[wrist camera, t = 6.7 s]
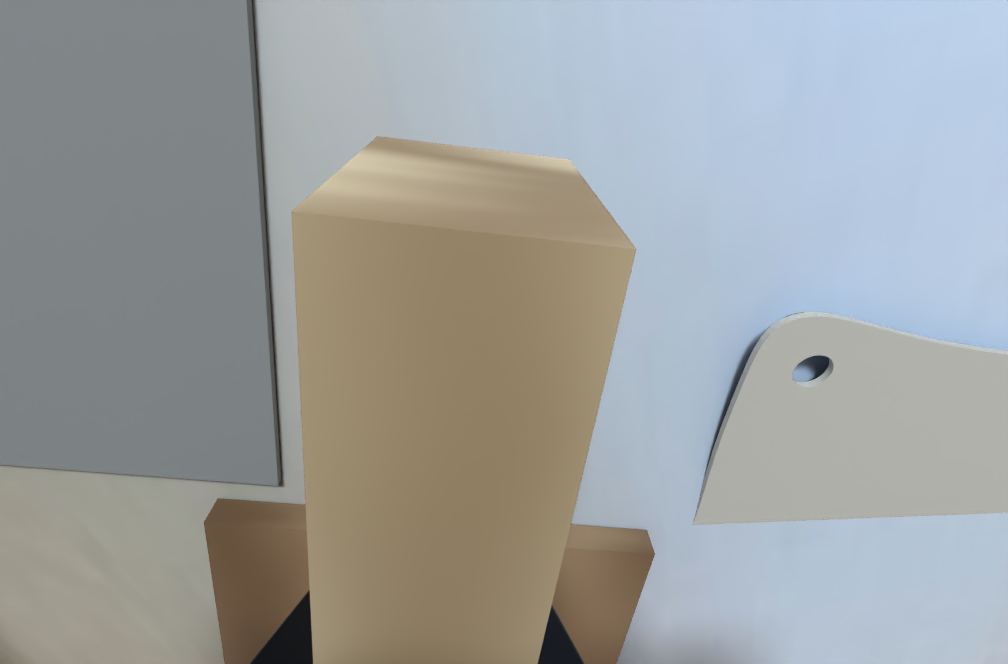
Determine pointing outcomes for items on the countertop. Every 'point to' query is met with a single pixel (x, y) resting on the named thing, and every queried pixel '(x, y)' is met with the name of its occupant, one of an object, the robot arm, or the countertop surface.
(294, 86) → the countertop surface
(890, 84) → the countertop surface
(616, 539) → the board
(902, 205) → the countertop surface
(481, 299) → the turner
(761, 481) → the kitchen cleaver
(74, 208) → the mat
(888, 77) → the countertop surface
